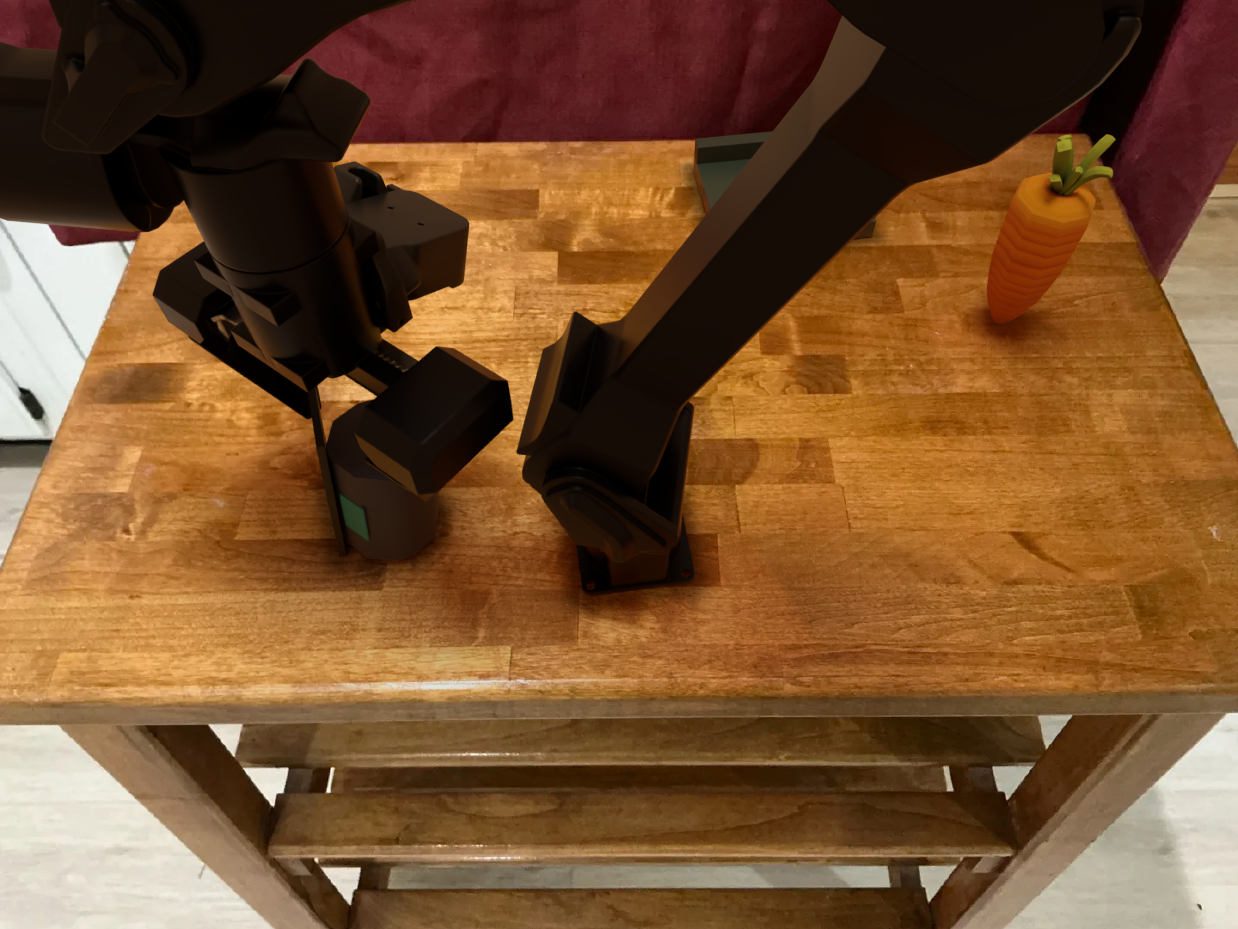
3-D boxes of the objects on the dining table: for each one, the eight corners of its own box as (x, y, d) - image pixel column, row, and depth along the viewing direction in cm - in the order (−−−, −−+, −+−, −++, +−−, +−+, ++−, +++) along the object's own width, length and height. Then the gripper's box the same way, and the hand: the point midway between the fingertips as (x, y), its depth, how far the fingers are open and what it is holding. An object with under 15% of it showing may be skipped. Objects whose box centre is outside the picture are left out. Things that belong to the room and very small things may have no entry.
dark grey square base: (872, 236, 69) (881, 204, 66) (717, 252, 68) (720, 220, 66) (836, 156, 75) (843, 124, 72) (692, 170, 74) (695, 138, 71)
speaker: (304, 563, 53) (265, 452, 44) (328, 484, 56) (297, 368, 48) (435, 575, 53) (421, 467, 45) (451, 496, 56) (440, 382, 48)
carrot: (1028, 299, 65) (1121, 111, 52) (1040, 350, 62) (1141, 164, 50) (957, 295, 65) (1033, 106, 53) (966, 346, 62) (1048, 159, 50)
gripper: (579, 209, 37) (594, 439, 50) (279, 62, 44) (360, 297, 57) (383, 375, 32) (455, 583, 45) (78, 179, 39) (216, 408, 52)
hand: (369, 452), depth 50 cm, fingers open, 9 cm apart
